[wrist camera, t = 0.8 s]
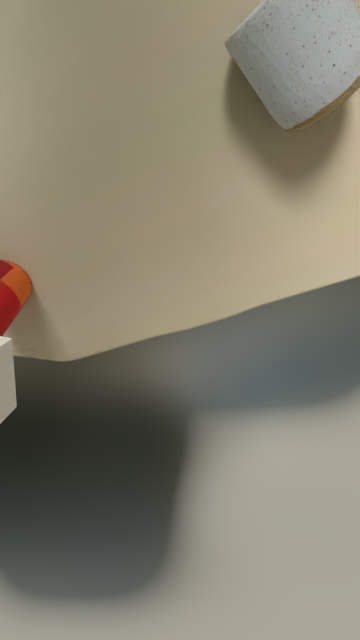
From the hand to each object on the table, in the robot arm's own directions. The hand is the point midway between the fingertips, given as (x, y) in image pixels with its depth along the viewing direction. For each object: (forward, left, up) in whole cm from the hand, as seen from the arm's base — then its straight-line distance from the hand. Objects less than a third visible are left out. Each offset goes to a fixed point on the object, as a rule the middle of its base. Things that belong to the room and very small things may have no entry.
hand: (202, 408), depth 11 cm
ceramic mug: (-13, +3, -27) cm, 30 cm away
